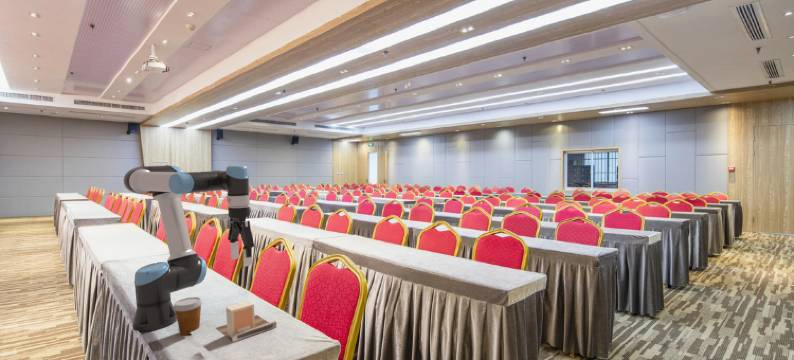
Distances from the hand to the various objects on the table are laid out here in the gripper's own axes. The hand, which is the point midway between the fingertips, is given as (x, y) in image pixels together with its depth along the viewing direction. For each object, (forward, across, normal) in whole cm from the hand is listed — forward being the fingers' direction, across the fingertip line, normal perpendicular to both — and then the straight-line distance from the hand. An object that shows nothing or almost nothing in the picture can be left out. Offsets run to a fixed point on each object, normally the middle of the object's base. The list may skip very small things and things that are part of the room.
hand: (241, 262), depth 147 cm
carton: (+24, +8, -4) cm, 25 cm away
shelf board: (+25, +4, -1) cm, 26 cm away
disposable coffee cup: (+26, -11, -16) cm, 33 cm away
